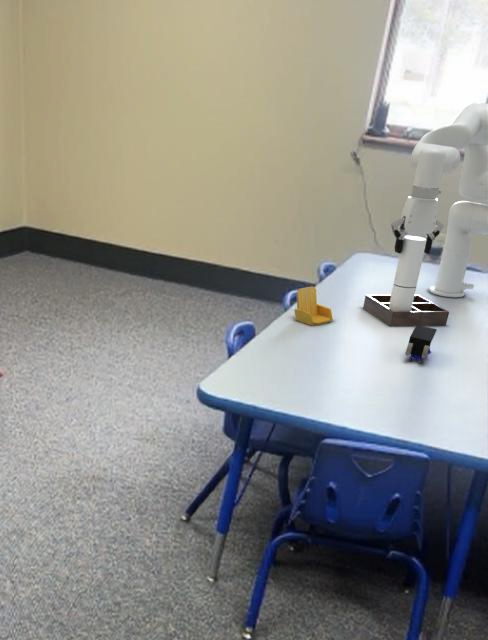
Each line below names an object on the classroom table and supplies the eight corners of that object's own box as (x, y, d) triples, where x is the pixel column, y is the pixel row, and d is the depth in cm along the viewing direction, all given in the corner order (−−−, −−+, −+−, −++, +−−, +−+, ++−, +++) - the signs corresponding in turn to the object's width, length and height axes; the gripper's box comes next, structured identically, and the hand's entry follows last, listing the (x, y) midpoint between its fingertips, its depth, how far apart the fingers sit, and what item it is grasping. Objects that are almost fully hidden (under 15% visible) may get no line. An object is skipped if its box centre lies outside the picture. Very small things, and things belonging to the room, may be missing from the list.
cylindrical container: (407, 316, 264) (424, 236, 251) (410, 322, 258) (428, 241, 245) (385, 314, 265) (401, 234, 251) (388, 320, 259) (404, 239, 245)
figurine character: (425, 371, 225) (432, 350, 236) (431, 345, 221) (438, 326, 232) (401, 366, 227) (409, 346, 238) (406, 341, 223) (415, 322, 234)
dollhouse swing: (312, 326, 250) (317, 296, 246) (290, 318, 256) (294, 289, 251) (334, 321, 257) (339, 292, 252) (311, 313, 262) (315, 285, 257)
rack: (415, 308, 277) (418, 294, 275) (445, 325, 261) (449, 311, 259) (362, 308, 273) (365, 294, 270) (390, 326, 256) (393, 311, 254)
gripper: (443, 192, 246) (430, 250, 255) (392, 190, 242) (381, 249, 251) (456, 196, 240) (442, 255, 249) (404, 194, 236) (392, 255, 245)
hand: (411, 252), depth 250 cm, fingers open, 9 cm apart
